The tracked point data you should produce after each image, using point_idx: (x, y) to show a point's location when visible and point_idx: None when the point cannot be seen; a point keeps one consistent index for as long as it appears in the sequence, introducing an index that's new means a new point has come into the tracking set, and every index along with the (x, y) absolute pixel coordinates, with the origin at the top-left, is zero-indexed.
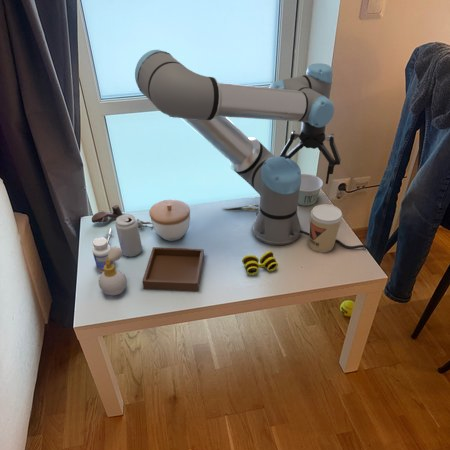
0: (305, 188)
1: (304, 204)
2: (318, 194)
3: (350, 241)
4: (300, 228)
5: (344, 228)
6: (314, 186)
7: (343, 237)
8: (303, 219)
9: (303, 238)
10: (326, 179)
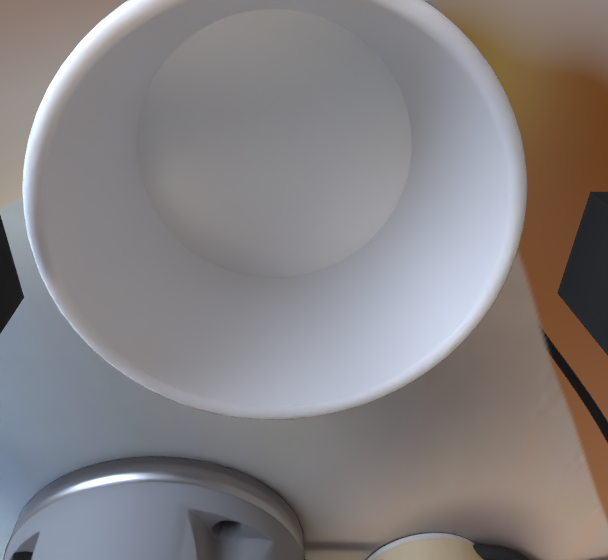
0: (274, 5)
1: (297, 276)
2: (436, 214)
3: (581, 524)
4: (303, 554)
5: (577, 444)
6: (394, 48)
7: (550, 507)
8: (308, 422)
9: (326, 555)
10: (593, 334)
